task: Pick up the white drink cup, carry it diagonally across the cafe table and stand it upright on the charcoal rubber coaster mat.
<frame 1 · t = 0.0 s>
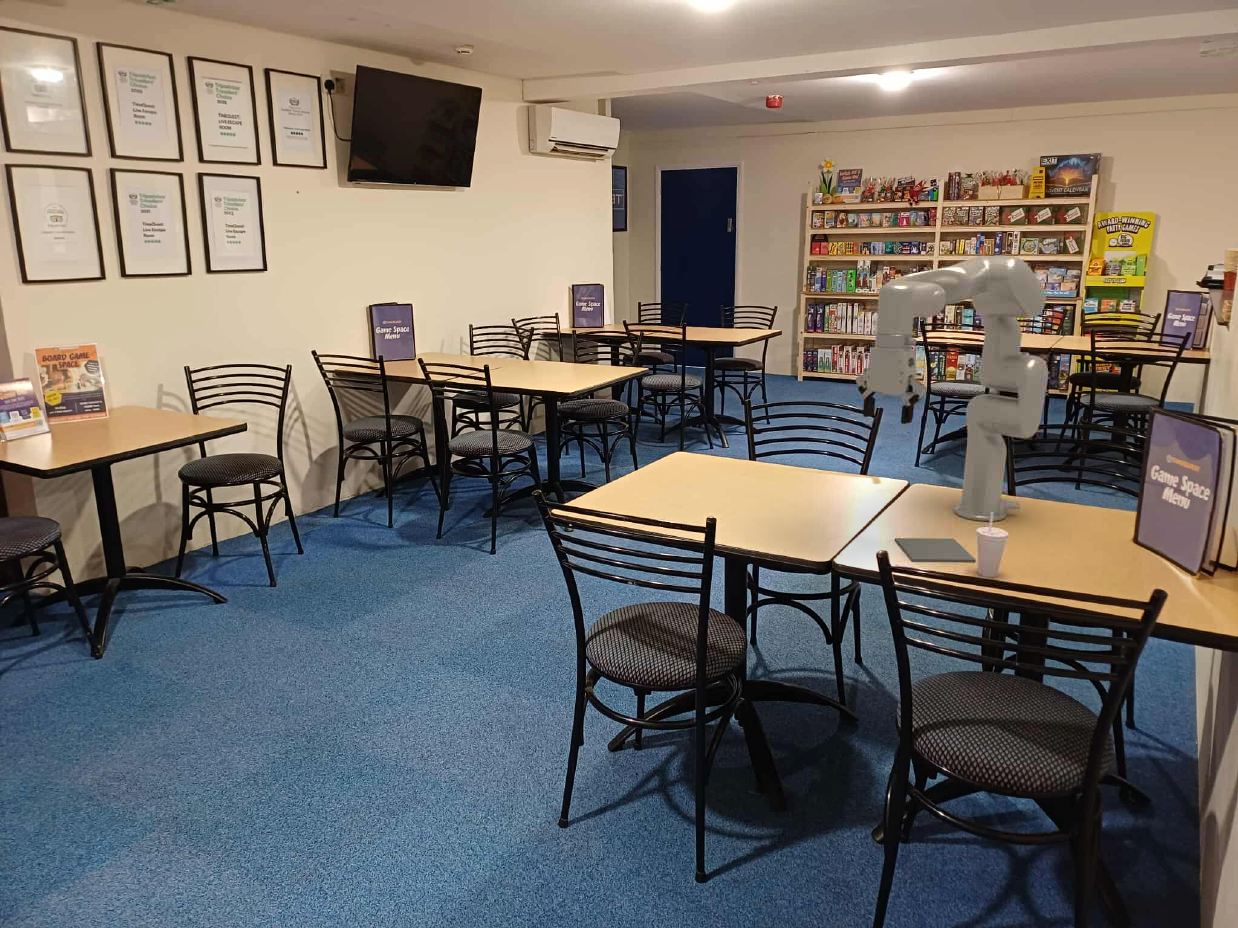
hand: (887, 419, 191), 31 cm above the table, tool pointing down, fingers open, 9 cm apart
coaster mat: (933, 550, 200), on the table
white drink cup: (987, 574, 186), on the table
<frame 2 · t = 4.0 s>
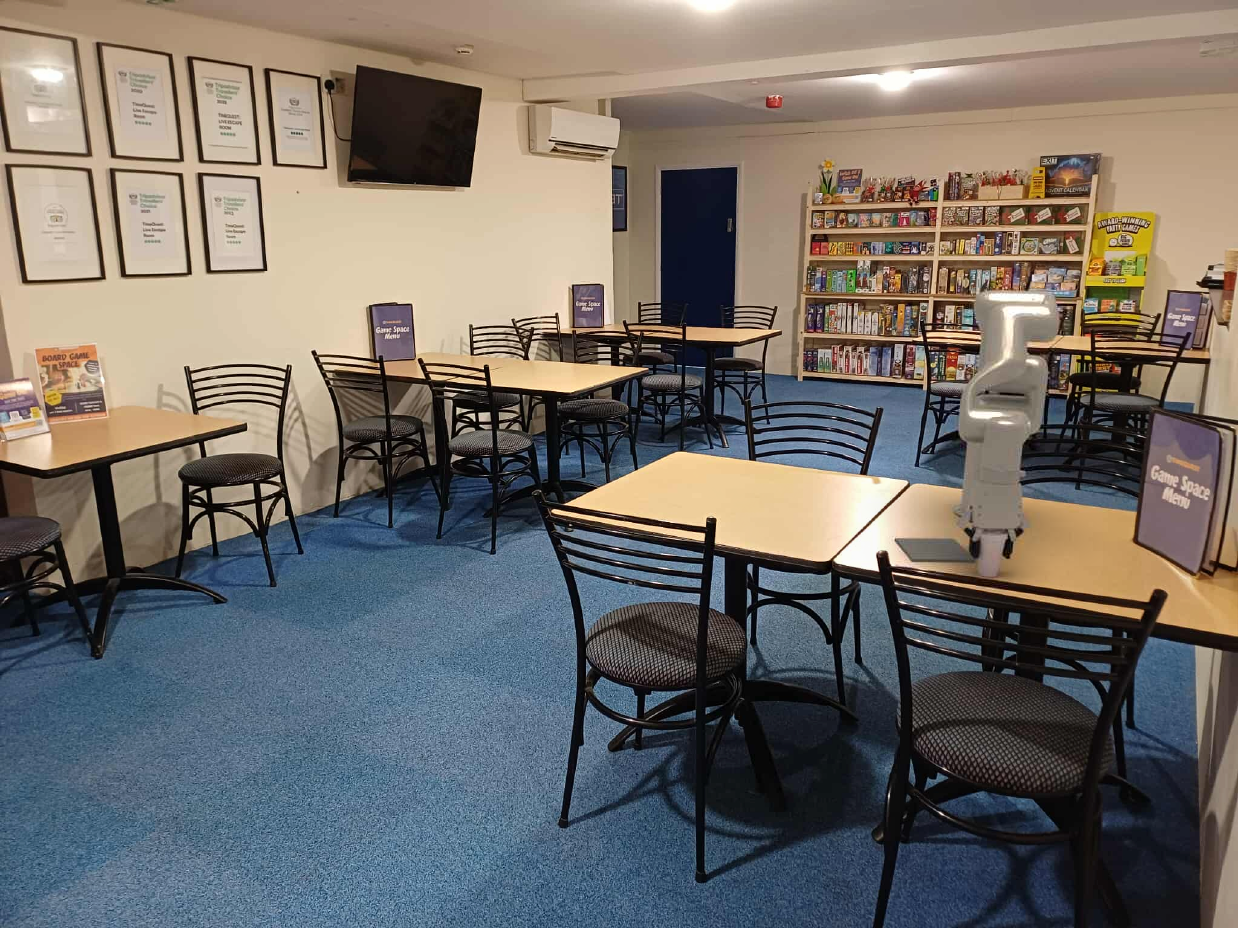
hand: (989, 556, 185), 4 cm above the table, tool pointing down, fingers closed on white drink cup, 6 cm apart
white drink cup: (987, 574, 186), on the table, touching gripper
when the fingers open (6 cm above the table, at t = 10.4 s): white drink cup drops 1 cm, resting on coaster mat.
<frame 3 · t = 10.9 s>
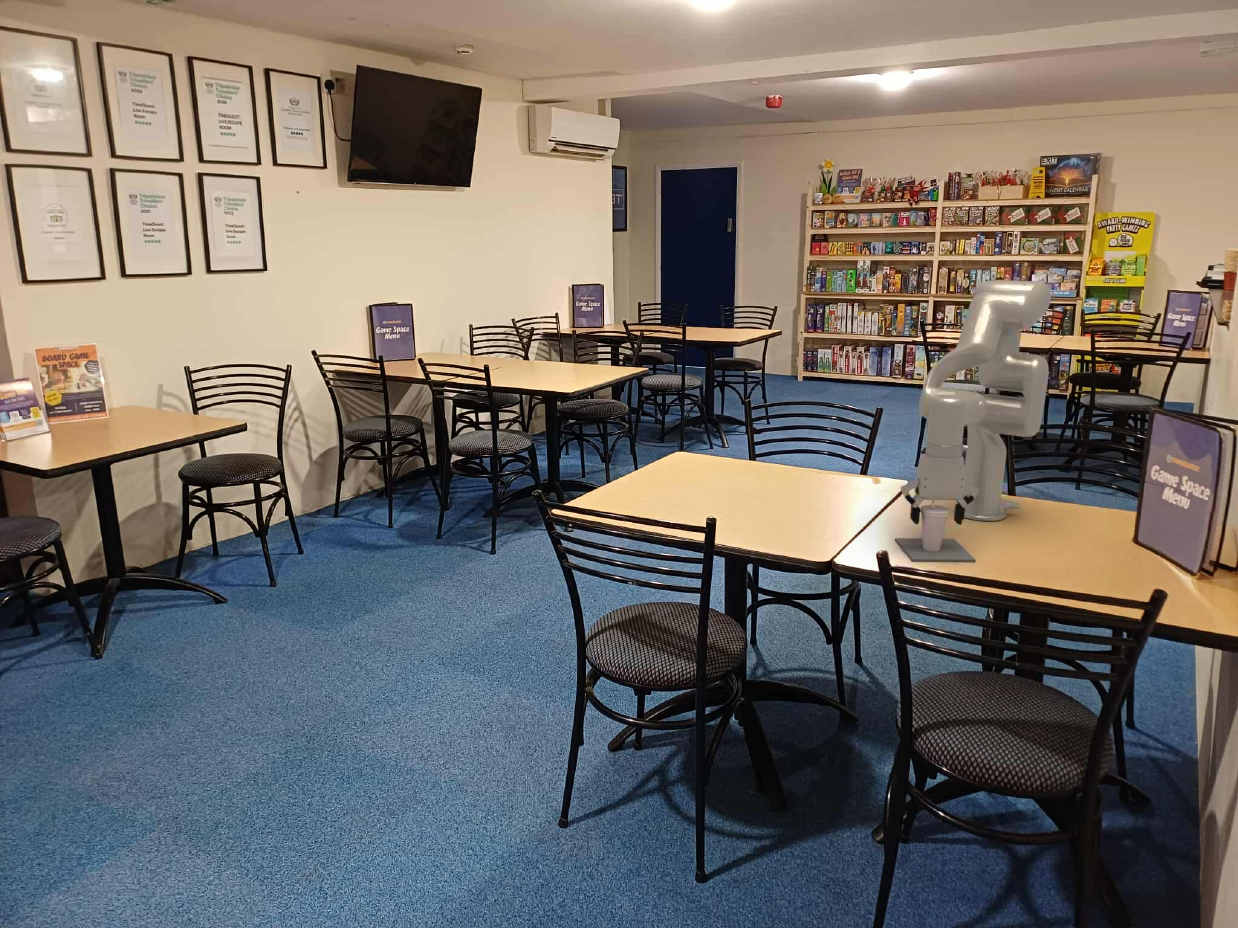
hand: (936, 522, 198), 7 cm above the table, tool pointing down, fingers open, 9 cm apart
white drink cup: (931, 549, 200), resting on coaster mat
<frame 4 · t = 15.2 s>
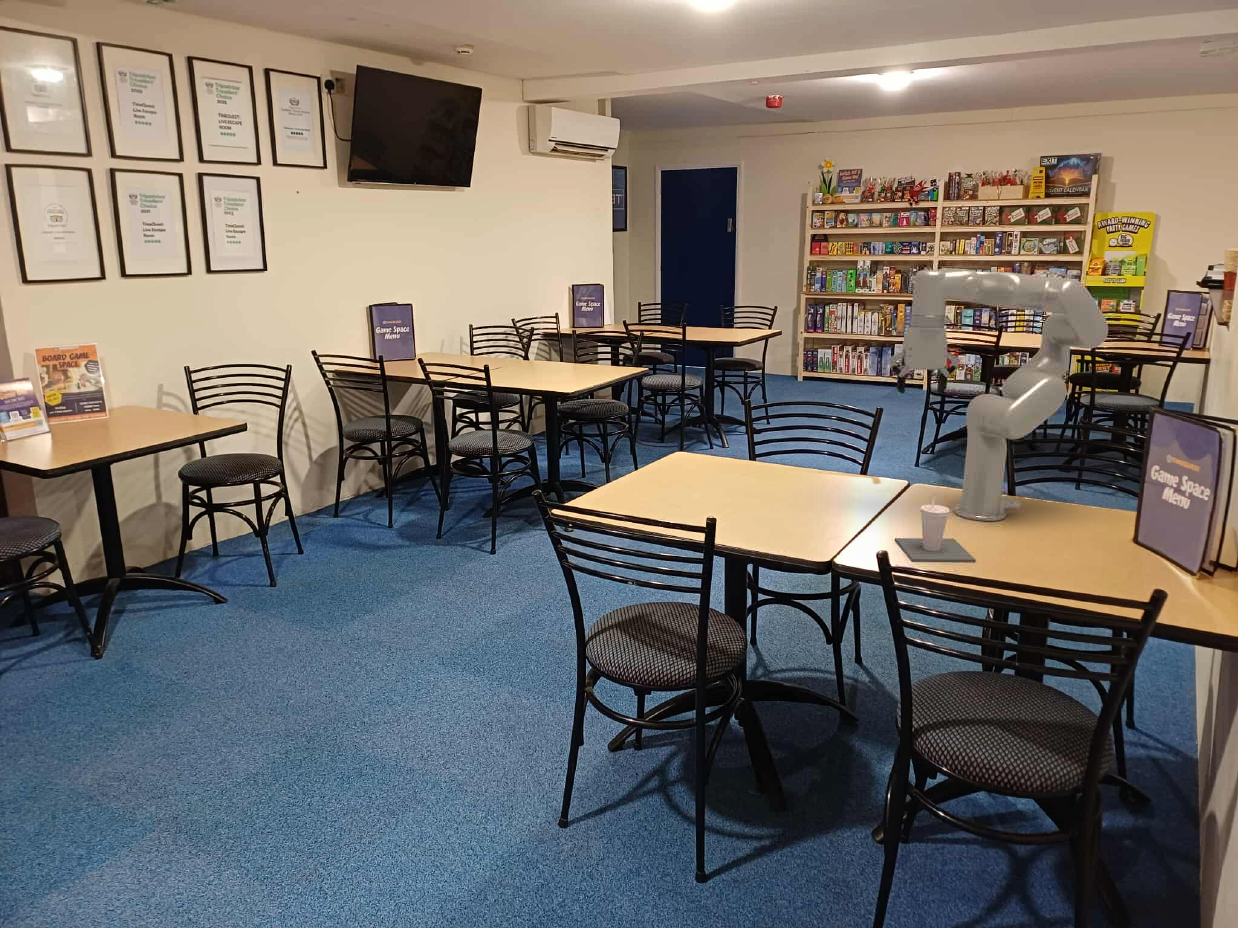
hand: (920, 392, 213), 33 cm above the table, tool pointing down, fingers open, 9 cm apart
nothing on the table moved.
at the end: white drink cup inside the target area on the coaster mat (0.6 cm from its centre), point 0.4 cm above the coaster mat's base; white drink cup tilted 0°; the gripper is holding nothing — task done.
